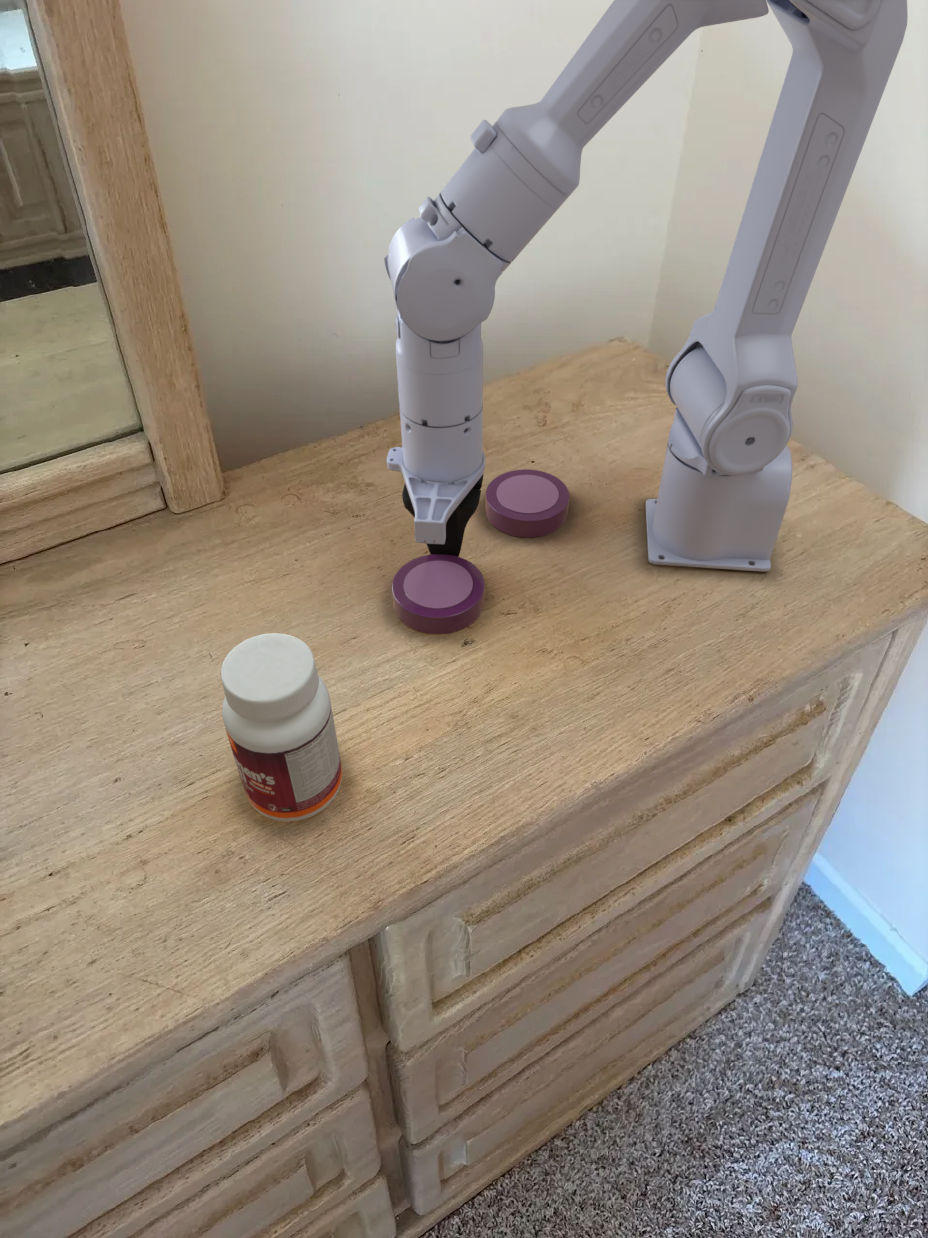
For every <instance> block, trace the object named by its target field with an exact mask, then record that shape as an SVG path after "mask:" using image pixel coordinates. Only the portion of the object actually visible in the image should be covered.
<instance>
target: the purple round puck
mask: <svg viewBox="0 0 928 1238" xmlns="http://www.w3.org/2000/svg"><path fill="white" fill-rule="evenodd" d="M570 497H571V496H570V491H569V489H568V487H567V485H566V484H565V483H564V482H563V480H561V479H560V478H559V477H557V476H555V475H553V474H551V473H549V472H547V471H542V470H537V469H531V468H529V469H526V468H524V469H515V470H510V471H506V472H504V473H502V474H499V475H498V476H496V477H495V478H493V479H492V480H491V481H490V482H489V484H488V485H487V487H486V490H485V510H484V511H485V516H486V519H487V520H488V522H489V523H490V524H491V525H492V526H493V527H494V528H495V529H496V530H498V531H500V532H502V533H503V534H507V535H509V536H512V537H517V538H539V537H543V536H546V535H550V534H552V533H554V532H556V531H558V530H559V529H560V528H561V527H562V526H563V525H564V524H565V523H566V522H567V519H568V515H569V506H570Z"/></svg>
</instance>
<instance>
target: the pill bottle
mask: <svg viewBox="0 0 928 1238" xmlns="http://www.w3.org/2000/svg"><path fill="white" fill-rule="evenodd" d="M220 680H221V684H222V687H223V692H224V698H223V702H222V707H221V715H222V721H223V725H224V728H225V729H224V730H225V732H226V735H227V738H228V743H229V745H230V748H231V751H232V755H233V758H234V761H235V762H234V763H235V765H236V768H237V772H238V774H239V778H240V780H241V783H242V787H243V790H244V792H245V795H246V798H247V800H248V802H249V804H250V805H251V806H252V808H253V809H254V810H256V812H258V813H259V814H260V815H262V816H264V817H265V818H267V819H270V820H273V821H276V822H290V823H291V822H298V821H303V820H306V819H309V818H312V817H314V816H315V815H317V814H319V813H321V812H322V811H323V810H324V809H326V808H327V807H328V806H329V805H330V804H331V803H332V802H333V801H334V799H335V798H336V797H337V795H338V793H339V791H340V789H341V785H342V781H343V768H342V759H341V754H340V749H339V748H340V747H339V744H338V743H339V742H338V736H337V731H336V725H335V720H334V719H335V718H334V714H333V707H332V702H331V697H330V693H329V690H328V688H327V685H326V683H325V682H324V680H323V679H322V677H321V676H320V675H319V672H318V669H317V665H316V660H315V657H314V653H313V652H312V649H311V648H310V647H309V645H308V644H307V643H305V642H304V641H303V640H302V639H300V638H298V637H296V636H293V635H291V634H286V633H278V632H271V633H262V634H258V635H254V636H252V637H249V638H247V639H245V640H243V641H241V642H240V643H238V644H237V645H235V646H234V647H233V648H232V649H231V650H230V651H229V652H228V654H227V655H226V656H225V658H224V660H223V662H222V664H221V669H220Z"/></svg>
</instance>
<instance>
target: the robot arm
mask: <svg viewBox="0 0 928 1238" xmlns="http://www.w3.org/2000/svg"><path fill="white" fill-rule="evenodd" d="M769 8H770V10H771V11H772V13H773V15H774V16H775V19H776V20H777V22H778V24H779V26H780V27H781V29H782V30H783V32H784V34H785V36H786V37H787V40H788V41H789V42H790V45H791V48H792V51H791V57H790V60H789V64H788V67H787V71H786V73H785V77H784V80H783V83H782V87H781V90H780V93H779V97H778V98H777V99H778V100H777V103H776V106H775V110H774V112H773V116H772V119H771V122H770V126H769V129H768V132H767V135H766V139H765V142H764V145H763V148H762V151H761V154H760V158H759V161H758V164H757V168H756V171H755V174H754V178H753V180H752V184H751V187H750V191H749V194H748V198H747V200H746V202H745V203H746V204H745V206H744V210H743V214H742V216H741V220H740V223H739V227H738V230H737V233H736V237H735V240H734V243H733V246H732V248H731V249H732V250H731V252H730V256H729V258H728V262H727V265H726V269H725V271H724V275H723V279H722V282H721V285H720V289H719V292H718V295H717V298H716V301H715V303H714V308H713V310H712V311H710V312H708V313H707V314H704V315H701V316H700V317H698V318H696V319H695V320H694V321H693V323H692V327H691V330H690V334H689V335H688V338H687V340H686V342H685V344H684V345H683V347H682V348H681V349H680V350H679V352H678V353H677V354H676V355H675V356H674V357H673V359H672V360H671V362H670V364H669V366H668V368H667V370H666V375H665V380H664V381H665V382H664V385H665V391H666V395H667V396H668V398H669V400H670V402H671V403H672V404H673V405H674V406H676V407H675V409H674V416H673V419H672V421H673V422H672V425H671V428H670V429H669V433H668V439H667V444H666V449H665V455H664V461H663V466H662V471H661V476H660V482H659V487H658V493H657V498H649V499H646V501H645V505H644V506H645V521H646V523H645V524H646V542H647V544H646V545H647V560H648V562H649V563H650V564H652V565H657V566H658V565H659V566H674V567H689V568H703V569H718V570H735V571H746V572H747V571H749V572H762V573H763V572H764V573H765V572H769V571H770V570H771V568H772V563H771V557H772V554H773V552H774V548H775V546H776V542H777V539H778V536H779V533H780V530H781V527H782V523H783V520H784V517H785V513H786V510H787V508H788V503H789V499H790V495H791V490H792V483H793V482H792V480H793V458H792V453H791V449H790V447H789V445H788V444H789V441H790V439H791V437H792V433H793V425H794V421H793V414H792V404H793V401H794V397H795V395H796V392H797V390H798V387H799V380H798V373H797V366H796V360H795V354H794V353H795V352H794V347H793V340H792V339H793V338H792V335H793V332H794V330H795V327H796V324H797V322H798V319H799V316H800V314H801V311H802V308H803V306H804V303H805V300H806V298H807V295H808V293H809V290H810V288H811V285H812V282H813V279H814V277H815V275H816V271H817V270H818V266H819V264H820V261H821V258H822V256H823V254H824V250H825V248H826V245H827V243H828V240H829V238H830V235H831V232H832V230H833V227H834V224H835V221H836V219H837V216H838V213H839V211H840V208H841V205H842V203H843V201H844V197H845V195H846V193H847V190H848V187H849V184H850V182H851V179H852V177H853V174H854V171H855V169H856V167H857V166H856V165H857V163H858V161H859V158H860V155H861V153H862V150H863V147H864V145H865V142H866V140H867V137H868V134H869V131H870V129H871V127H872V124H873V121H874V118H875V116H876V113H877V111H878V108H879V105H880V103H881V100H882V98H883V95H884V92H885V89H886V86H887V84H888V81H889V79H890V77H891V73H892V71H893V69H894V65H895V63H896V60H897V58H898V55H899V52H900V50H901V47H902V44H903V42H904V38H905V35H906V30H907V28H908V17H909V16H908V0H612V2H611V4H610V5H609V7H608V8H607V9H606V11H605V12H604V14H602V16H601V18H600V19H599V20H598V22H597V23H596V24H595V26H594V27H593V28H592V30H591V31H590V32H589V34H588V35H587V36H586V38H585V39H584V41H583V42H582V44H581V45H580V46H579V48H578V49H577V50H576V52H575V53H574V54H573V56H572V57H571V59H570V60H569V61H568V62H567V64H566V65H565V67H563V70H562V71H561V72H560V74H559V75H558V76H557V78H556V79H555V81H554V82H553V83H552V84H551V86H550V87H549V89H548V90H547V92H546V93H545V95H544V96H542V98H541V100H540V101H538V102H536V103H532V104H526V105H520V106H512V107H509V108H506V109H504V111H503V112H502V113H501V114H500V115H499V117H498V118H497V120H496V121H495V122H494V123H493V125H492V124H491V123H490V122H489V121H488V120H487V119H483V120H482V121H481V122H480V123H479V125H478V126H477V127H476V128H475V129H474V130H473V132H472V133H471V135H470V138H469V139H470V141H471V143H472V145H473V147H474V148H473V150H472V151H471V153H470V154H469V155H468V156H467V158H466V159H465V160H464V161H463V163H462V164H461V165H460V166H459V168H458V169H457V170H456V172H455V173H454V174H453V175H452V176H451V178H450V179H449V180H448V182H447V183H446V184H445V186H443V188H442V189H441V191H440V192H439V193H438V195H437V196H436V197H435V198H434V199H433V198H432V197H431V196H426V197H425V199H424V200H423V202H422V203H421V204H420V206H419V207H418V209H417V211H418V214H419V217H418V218H415V217H411V218H410V219H408V220H407V221H405V222H404V223H403V224H402V225H401V226H400V227H399V228H398V229H397V230H396V232H395V233H394V235H393V236H392V237H391V240H390V243H389V246H388V249H387V250H388V254H387V255H385V256H384V268H385V270H386V273H387V276H388V278H389V280H390V283H391V287H392V292H393V297H394V301H395V306H396V316H395V321H394V324H395V325H394V326H395V334H396V336H397V338H396V340H395V363H396V375H397V376H396V377H397V391H398V392H397V393H398V406H399V420H400V433H401V435H400V436H401V446H394V447H393V446H392V447H391V448H389V450H388V453H387V456H386V468H387V470H388V471H393V472H399V473H401V474H402V476H403V477H402V478H403V481H404V485H403V488H402V493H401V496H402V497H401V499H402V503H403V505H404V508H405V510H407V511H408V512H409V513H410V514H411V515H412V517H413V518H414V520H413V524H414V541H415V543H417V544H426V547H427V549H428V552H429V555H431V554H448V555H454V556H457V557H460V554H461V550H462V547H463V542H464V541H463V540H464V535H465V530H466V527H467V525H468V523H469V522H470V519H471V517H473V515H474V514H475V512H477V509H478V506H479V504H480V499H481V493H482V487H483V482H484V481H483V480H484V475H485V474H484V472H485V470H486V454H485V452H484V449H483V445H484V444H483V442H484V437H483V434H484V341H483V338H482V323H483V322H485V321H487V319H489V316H490V314H491V313H492V309H493V307H494V303H495V297H496V283H497V281H498V279H499V278H500V276H501V275H502V274H503V273H504V272H505V271H506V270H507V269H508V267H509V266H510V265H511V264H512V263H513V262H514V260H516V258H517V257H518V256H519V255H520V254H521V252H522V251H523V250H524V249H525V248H526V247H527V246H528V244H529V243H530V242H531V241H532V240H533V239H534V238H535V236H536V235H537V234H538V233H539V232H540V231H541V229H543V227H544V226H545V225H546V224H547V222H548V221H550V219H551V218H552V217H553V215H555V213H556V212H557V211H558V210H559V209H560V208H561V207H562V205H563V204H564V203H565V202H566V201H567V200H568V198H569V197H570V196H571V195H572V194H573V193H574V192H575V191H576V190H577V188H578V187H579V185H580V180H581V165H582V164H581V163H582V154H583V150H584V148H585V147H586V146H587V145H588V143H589V142H590V141H591V140H592V139H593V138H594V137H595V136H596V135H597V134H598V133H599V132H600V131H601V130H602V129H603V127H605V125H606V124H608V123H609V121H610V120H611V119H612V118H613V117H614V116H615V115H616V114H617V113H618V111H619V110H621V109H622V108H623V106H624V105H626V103H627V102H628V101H629V100H630V99H631V98H632V97H633V96H634V95H635V94H636V93H637V92H638V91H639V90H640V88H641V87H642V86H643V85H644V84H645V83H646V82H647V81H648V80H649V79H650V78H651V77H652V76H653V75H654V74H655V73H656V72H657V71H658V69H660V67H661V66H662V65H663V64H664V63H665V62H666V61H667V60H668V59H669V58H670V57H671V56H672V55H673V54H674V53H675V51H677V50H678V48H679V47H680V46H681V45H682V44H683V43H684V42H685V41H686V40H687V39H688V38H689V37H690V36H691V34H693V33H694V32H695V31H697V30H699V29H700V28H704V27H709V26H715V25H721V24H727V23H733V22H739V21H745V20H750V19H751V20H752V19H757V18H761V17H764V16H767V15H768V14H769V12H770V10H769Z"/></svg>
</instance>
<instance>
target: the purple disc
mask: <svg viewBox="0 0 928 1238" xmlns="http://www.w3.org/2000/svg"><path fill="white" fill-rule="evenodd" d="M391 596H392V597H391V598H392V606H393V610H394V613H395V615H396V616H397V618H398V619H399V620H400V621H401V622H402V623H403V624H404V625H405V626H407V627H408V628H410V629H412V630H414V631H417V632H419V633H423V634H428V635H446V634H452V633H457V632H459V631H461V630H464V629H466V628H468V627H470V626H471V625H472V624H473V623H475V622H476V621H477V620H478V619H479V617H480V616H481V615H482V613H483V610H484V608H485V602H486V601H485V600H486V582H485V579H484V575H483V574H482V572H481V570H480V569H479V568H478V567H477V566H476V565H475V564H473V562H471V561H469V560H467V559H465V558H463V557H460V556H459V557H457V556H454V555H448V554H426V555H422V556H419V557H416V558H414V559H411V560H409V561H408V562H406V563H405V564H403V565H402V566H401V567H400V568H399V569H398V570H397V571H396V573H395V574H394V576H393V578H392V581H391Z"/></svg>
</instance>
